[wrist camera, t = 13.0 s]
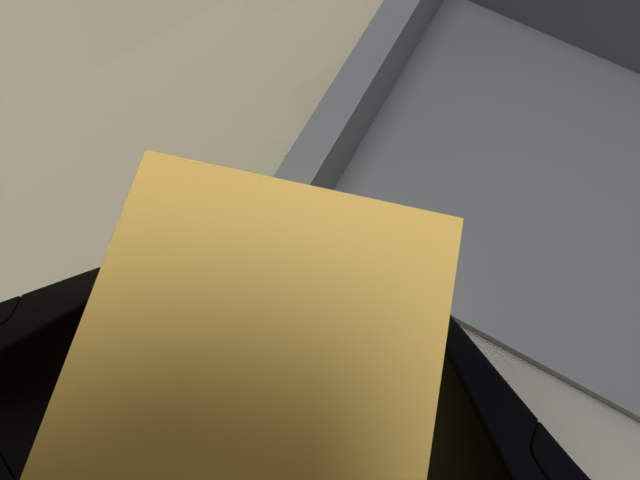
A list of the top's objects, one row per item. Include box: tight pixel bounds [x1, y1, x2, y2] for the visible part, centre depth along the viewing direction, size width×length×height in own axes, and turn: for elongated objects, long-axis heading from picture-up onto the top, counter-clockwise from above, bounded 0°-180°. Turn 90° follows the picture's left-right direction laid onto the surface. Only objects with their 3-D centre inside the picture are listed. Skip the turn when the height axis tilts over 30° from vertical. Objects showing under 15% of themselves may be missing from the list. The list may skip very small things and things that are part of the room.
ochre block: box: [20, 150, 464, 480], centre depth 11 cm, size 5×5×12 cm
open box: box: [273, 0, 640, 422], centre depth 15 cm, size 17×24×6 cm
